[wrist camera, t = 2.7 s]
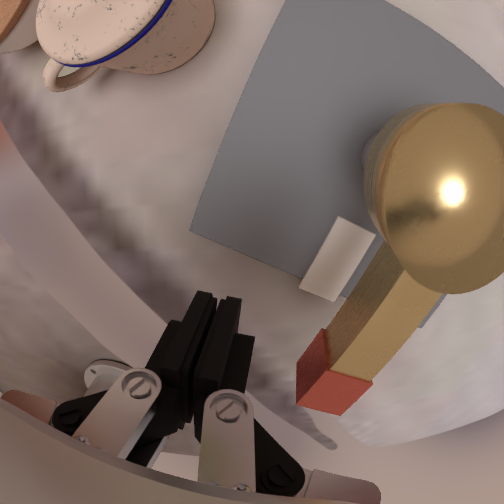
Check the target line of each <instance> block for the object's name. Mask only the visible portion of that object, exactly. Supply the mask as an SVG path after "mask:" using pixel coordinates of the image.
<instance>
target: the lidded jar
mask: <svg viewBox="0 0 504 504" xmlns="http://www.w3.org/2000/svg"><path fill="white" fill-rule="evenodd" d="M39 1H40V0H0V54H6V53H11V52H15V51H18V50H21V49H23V48H25V47H28V46H29V45H31V44H33V43H34V42H36V41H37V40H38V37H37V33H36V14H37V9H38V5H39Z"/></svg>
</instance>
